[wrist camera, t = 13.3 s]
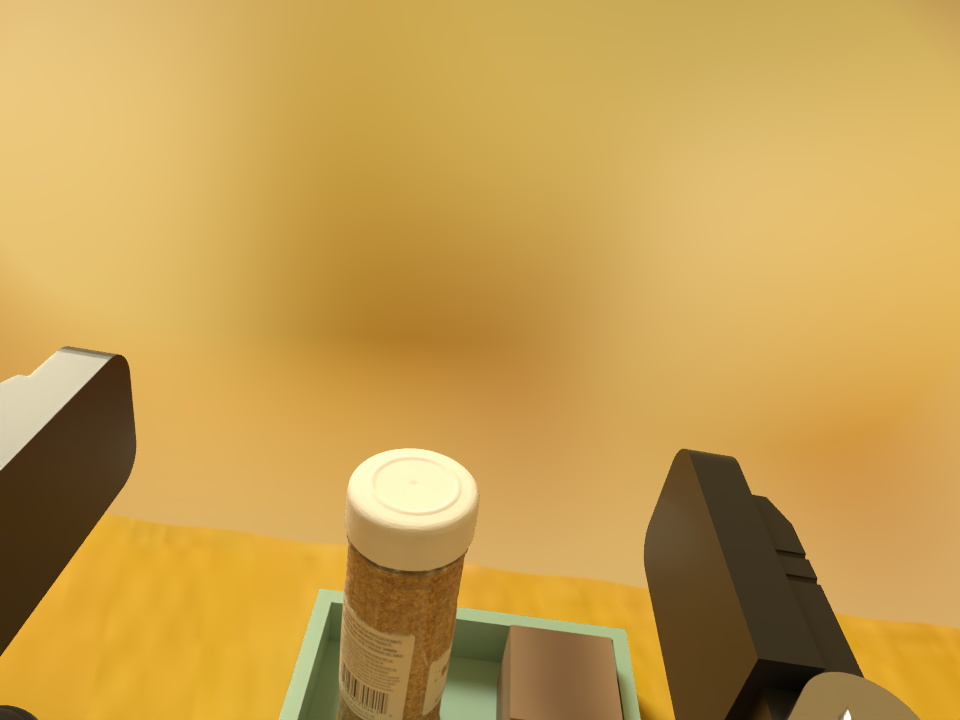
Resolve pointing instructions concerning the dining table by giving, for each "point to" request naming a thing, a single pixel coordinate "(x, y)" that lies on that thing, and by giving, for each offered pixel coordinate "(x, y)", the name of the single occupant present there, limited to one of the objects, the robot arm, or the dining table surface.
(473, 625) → the tray
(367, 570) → the sprinkles bottle
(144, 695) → the dining table surface
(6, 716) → the carrying case or bag
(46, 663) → the dining table surface
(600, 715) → the copper block
